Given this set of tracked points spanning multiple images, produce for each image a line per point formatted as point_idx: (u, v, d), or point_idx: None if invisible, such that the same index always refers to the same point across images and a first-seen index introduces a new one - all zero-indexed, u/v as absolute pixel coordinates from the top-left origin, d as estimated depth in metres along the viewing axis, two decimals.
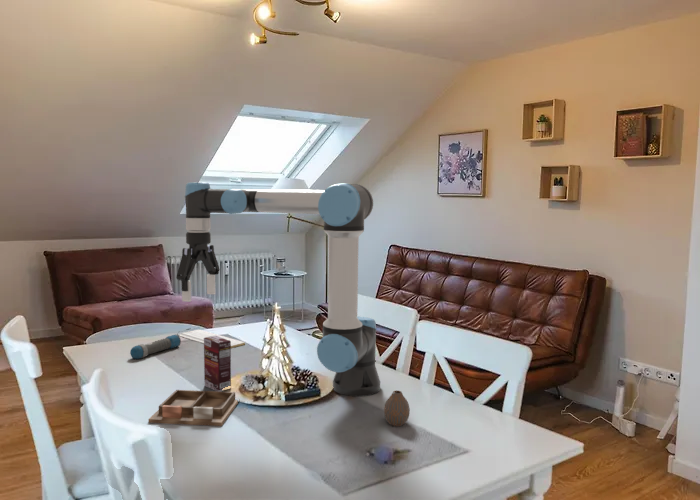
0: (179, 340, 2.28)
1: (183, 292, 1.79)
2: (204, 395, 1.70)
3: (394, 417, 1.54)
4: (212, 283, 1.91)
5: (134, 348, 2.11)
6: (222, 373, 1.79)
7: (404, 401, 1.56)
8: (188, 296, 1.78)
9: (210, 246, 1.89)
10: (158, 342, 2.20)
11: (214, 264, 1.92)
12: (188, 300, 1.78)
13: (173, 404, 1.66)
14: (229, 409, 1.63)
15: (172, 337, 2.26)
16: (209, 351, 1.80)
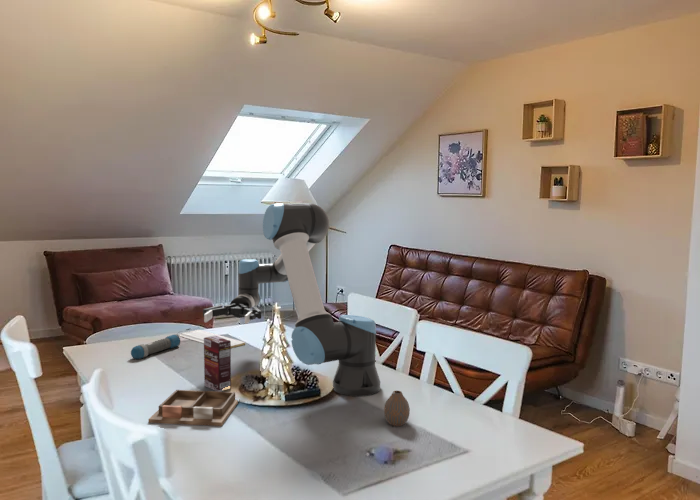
0: (179, 340, 2.28)
1: None
2: (204, 395, 1.70)
3: (394, 417, 1.54)
4: None
5: (135, 348, 2.11)
6: (222, 373, 1.79)
7: (404, 401, 1.56)
8: None
9: None
10: (158, 342, 2.20)
11: (256, 311, 2.00)
12: None
13: (173, 404, 1.66)
14: (229, 409, 1.63)
15: (172, 337, 2.27)
16: (209, 351, 1.80)
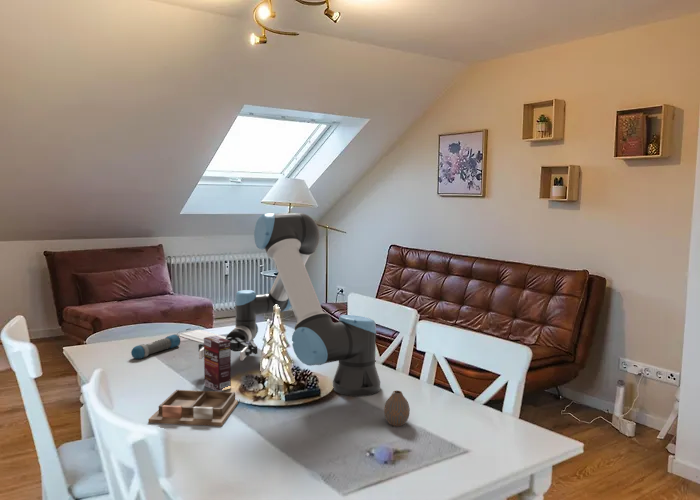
0: (179, 340, 2.29)
1: None
2: (204, 395, 1.70)
3: (394, 417, 1.54)
4: None
5: (135, 348, 2.11)
6: (222, 373, 1.79)
7: (404, 401, 1.56)
8: None
9: None
10: (158, 342, 2.21)
11: (252, 346, 1.97)
12: None
13: (173, 404, 1.66)
14: (229, 409, 1.63)
15: (172, 337, 2.27)
16: (209, 351, 1.80)
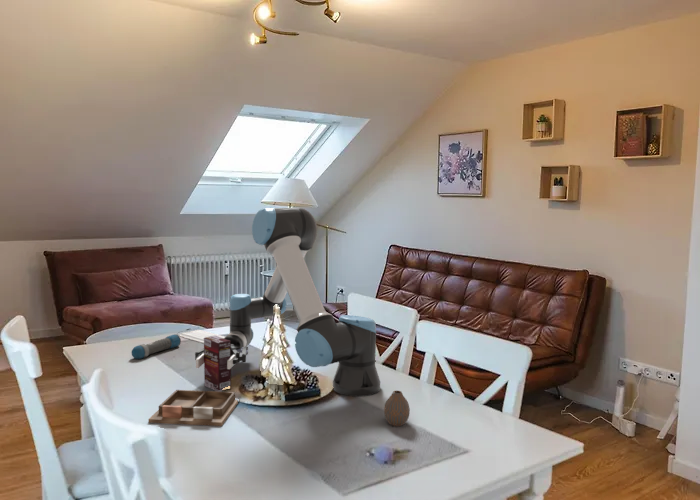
0: (179, 340, 2.29)
1: None
2: (204, 395, 1.70)
3: (394, 417, 1.54)
4: None
5: (135, 348, 2.11)
6: (222, 373, 1.79)
7: (404, 401, 1.56)
8: None
9: None
10: (159, 342, 2.21)
11: (242, 353, 1.87)
12: None
13: (173, 404, 1.66)
14: (229, 409, 1.63)
15: (172, 337, 2.27)
16: (209, 351, 1.80)
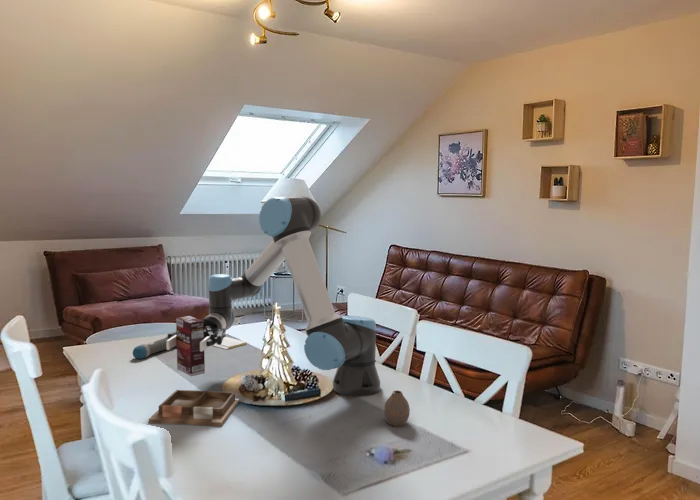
0: None
1: None
2: (204, 395, 1.70)
3: (394, 417, 1.54)
4: None
5: (137, 348, 2.11)
6: (195, 355, 1.67)
7: (404, 401, 1.56)
8: None
9: None
10: (159, 342, 2.21)
11: None
12: None
13: (173, 404, 1.66)
14: (229, 409, 1.63)
15: None
16: (181, 332, 1.68)
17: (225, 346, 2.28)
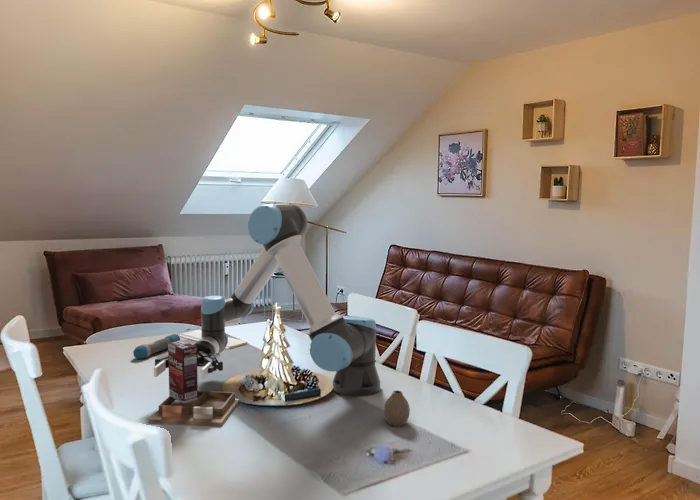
0: (179, 339, 2.29)
1: None
2: (204, 395, 1.70)
3: (394, 417, 1.54)
4: None
5: (138, 348, 2.11)
6: (187, 382, 1.61)
7: (404, 401, 1.56)
8: None
9: None
10: (159, 342, 2.21)
11: (217, 361, 1.70)
12: None
13: (173, 404, 1.66)
14: (229, 409, 1.63)
15: (172, 336, 2.27)
16: (174, 358, 1.63)
17: (226, 346, 2.29)
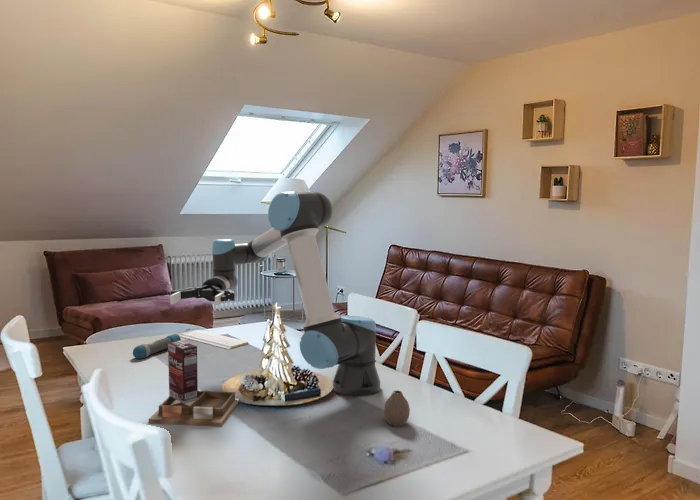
0: (179, 339, 2.29)
1: None
2: (204, 395, 1.70)
3: (394, 417, 1.54)
4: None
5: (137, 348, 2.12)
6: (187, 382, 1.61)
7: (404, 401, 1.56)
8: None
9: None
10: (159, 342, 2.21)
11: (229, 292, 1.81)
12: None
13: (173, 404, 1.66)
14: (229, 409, 1.63)
15: (172, 336, 2.27)
16: (174, 358, 1.63)
17: (227, 346, 2.29)
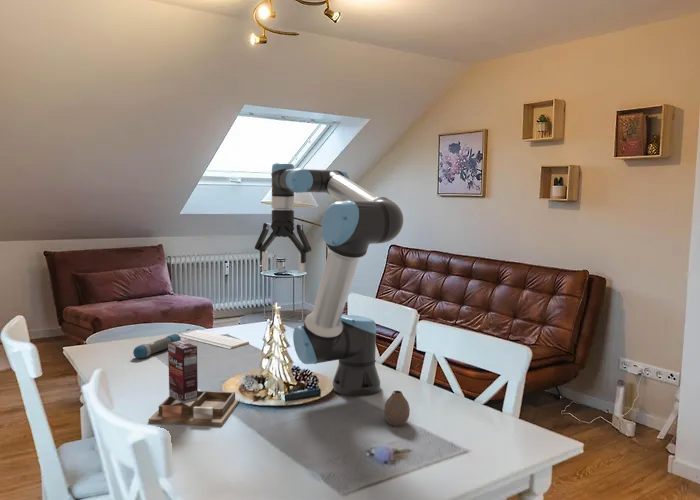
0: (179, 339, 2.29)
1: None
2: (204, 395, 1.70)
3: (394, 417, 1.54)
4: None
5: (137, 348, 2.12)
6: (187, 382, 1.61)
7: (404, 401, 1.56)
8: None
9: None
10: (160, 341, 2.21)
11: None
12: None
13: (173, 404, 1.66)
14: (229, 409, 1.63)
15: (172, 336, 2.27)
16: (174, 358, 1.63)
17: (228, 346, 2.29)
